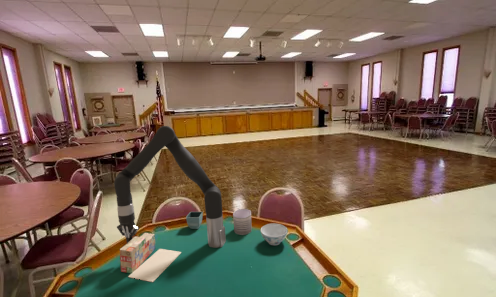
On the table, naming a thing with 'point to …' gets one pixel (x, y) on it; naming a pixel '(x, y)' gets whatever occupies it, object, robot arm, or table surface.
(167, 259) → the mat
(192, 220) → the flower pot
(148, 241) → the stack of blocks
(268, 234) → the chinaware
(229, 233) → the table surface
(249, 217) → the can
